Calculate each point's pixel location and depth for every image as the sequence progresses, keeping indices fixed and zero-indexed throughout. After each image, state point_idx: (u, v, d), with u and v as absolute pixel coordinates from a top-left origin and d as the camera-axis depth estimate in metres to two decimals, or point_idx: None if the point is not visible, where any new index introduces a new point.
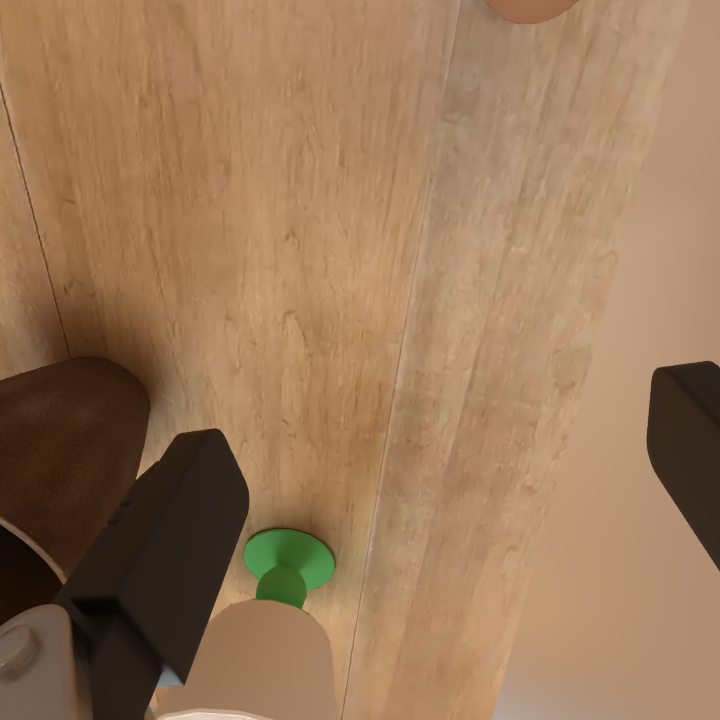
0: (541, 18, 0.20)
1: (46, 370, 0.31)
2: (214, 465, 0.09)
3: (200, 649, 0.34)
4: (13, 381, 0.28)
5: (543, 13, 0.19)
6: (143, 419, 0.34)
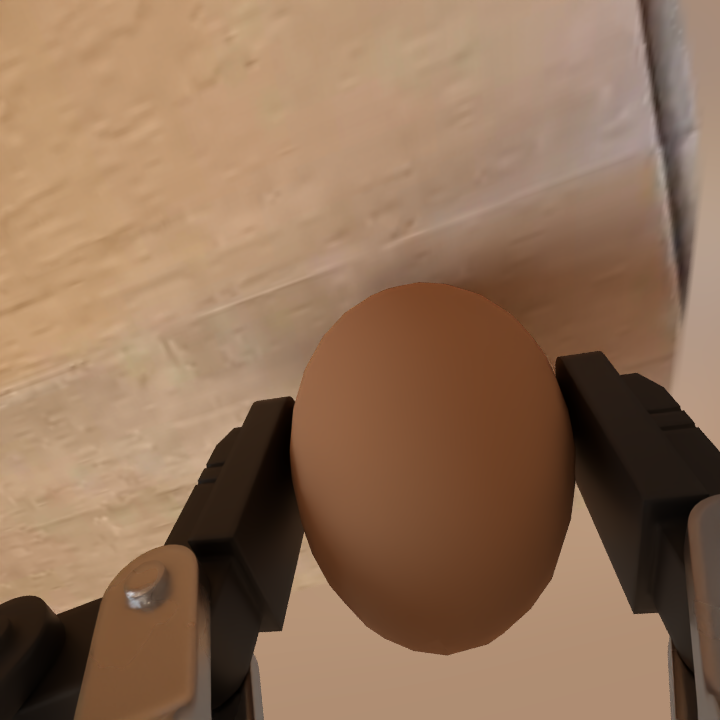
0: None
1: None
2: None
3: None
4: None
5: None
6: None
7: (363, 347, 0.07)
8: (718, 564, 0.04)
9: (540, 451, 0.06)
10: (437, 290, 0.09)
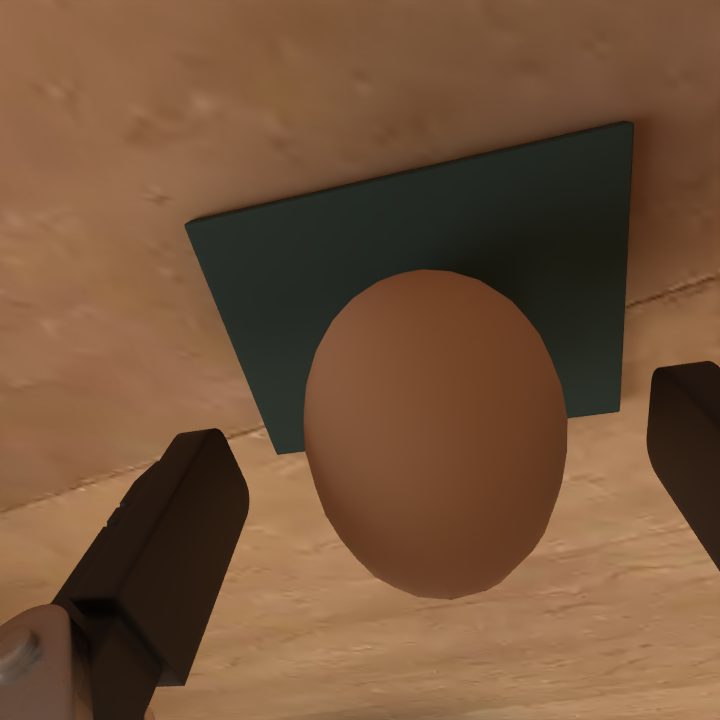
0: None
1: None
2: (214, 465, 0.09)
3: None
4: None
5: None
6: None
7: (372, 326, 0.08)
8: None
9: (534, 417, 0.07)
10: (440, 275, 0.09)
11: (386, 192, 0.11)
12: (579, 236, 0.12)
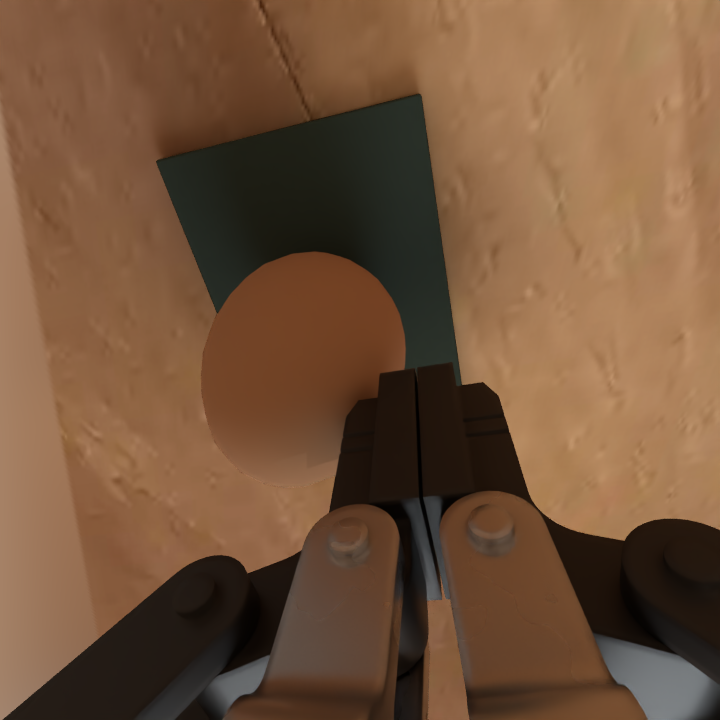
0: None
1: None
2: (419, 402, 0.09)
3: None
4: None
5: None
6: None
7: None
8: (465, 565, 0.05)
9: (217, 353, 0.10)
10: None
11: None
12: (240, 183, 0.14)
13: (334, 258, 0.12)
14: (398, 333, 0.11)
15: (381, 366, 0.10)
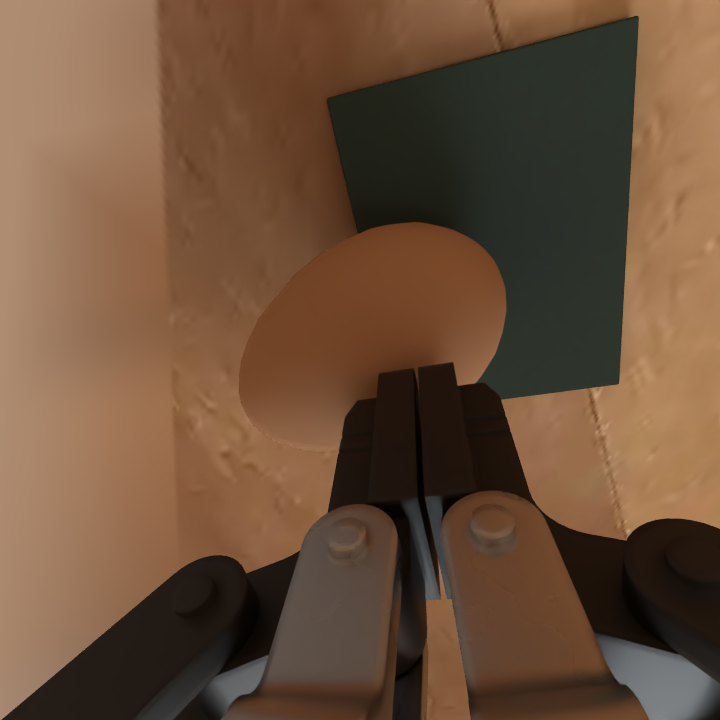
0: None
1: None
2: (418, 402, 0.09)
3: None
4: None
5: None
6: None
7: None
8: (466, 565, 0.05)
9: None
10: None
11: None
12: (417, 123, 0.13)
13: (418, 244, 0.11)
14: (436, 352, 0.10)
15: (372, 383, 0.10)
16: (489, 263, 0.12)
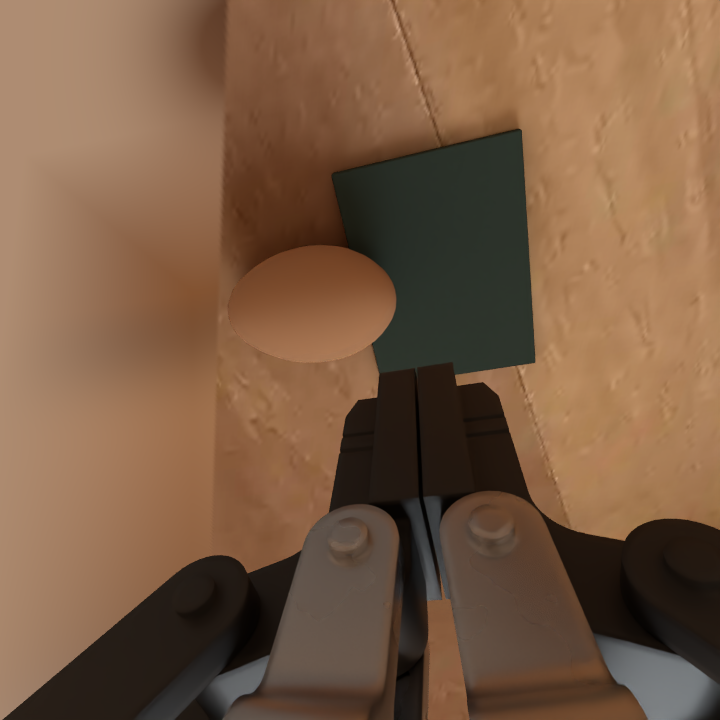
0: None
1: None
2: (419, 402, 0.09)
3: None
4: None
5: (290, 360, 0.21)
6: None
7: None
8: (465, 565, 0.05)
9: None
10: None
11: None
12: (389, 190, 0.20)
13: (309, 256, 0.19)
14: (278, 310, 0.19)
15: (250, 311, 0.19)
16: (351, 281, 0.18)
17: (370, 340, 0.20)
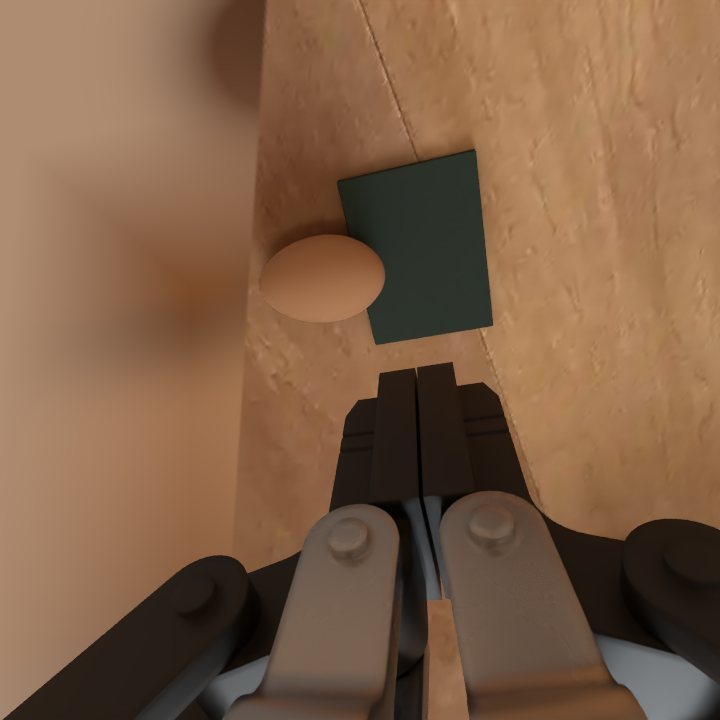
0: None
1: None
2: (419, 402, 0.09)
3: None
4: None
5: (306, 321, 0.29)
6: None
7: None
8: (465, 565, 0.05)
9: None
10: None
11: None
12: (379, 193, 0.27)
13: (321, 242, 0.26)
14: (299, 281, 0.26)
15: (278, 282, 0.27)
16: (352, 260, 0.26)
17: (365, 304, 0.27)
